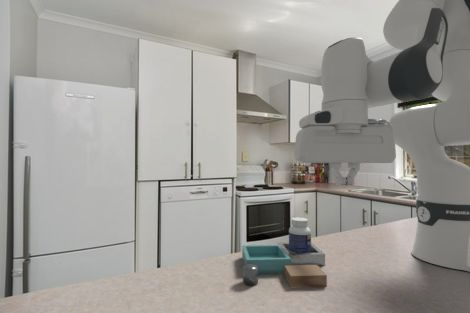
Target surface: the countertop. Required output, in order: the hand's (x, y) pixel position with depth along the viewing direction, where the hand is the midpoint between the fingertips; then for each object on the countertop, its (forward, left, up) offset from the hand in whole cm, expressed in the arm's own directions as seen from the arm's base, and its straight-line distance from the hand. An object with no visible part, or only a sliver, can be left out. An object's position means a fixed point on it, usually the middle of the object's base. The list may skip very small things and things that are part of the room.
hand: (344, 185), depth 52 cm
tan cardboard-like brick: (+9, 0, -20) cm, 21 cm away
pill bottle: (+6, -12, -19) cm, 23 cm away
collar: (+6, -12, -19) cm, 23 cm away
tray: (+15, -9, -19) cm, 26 cm away
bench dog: (+20, 0, -19) cm, 27 cm away
